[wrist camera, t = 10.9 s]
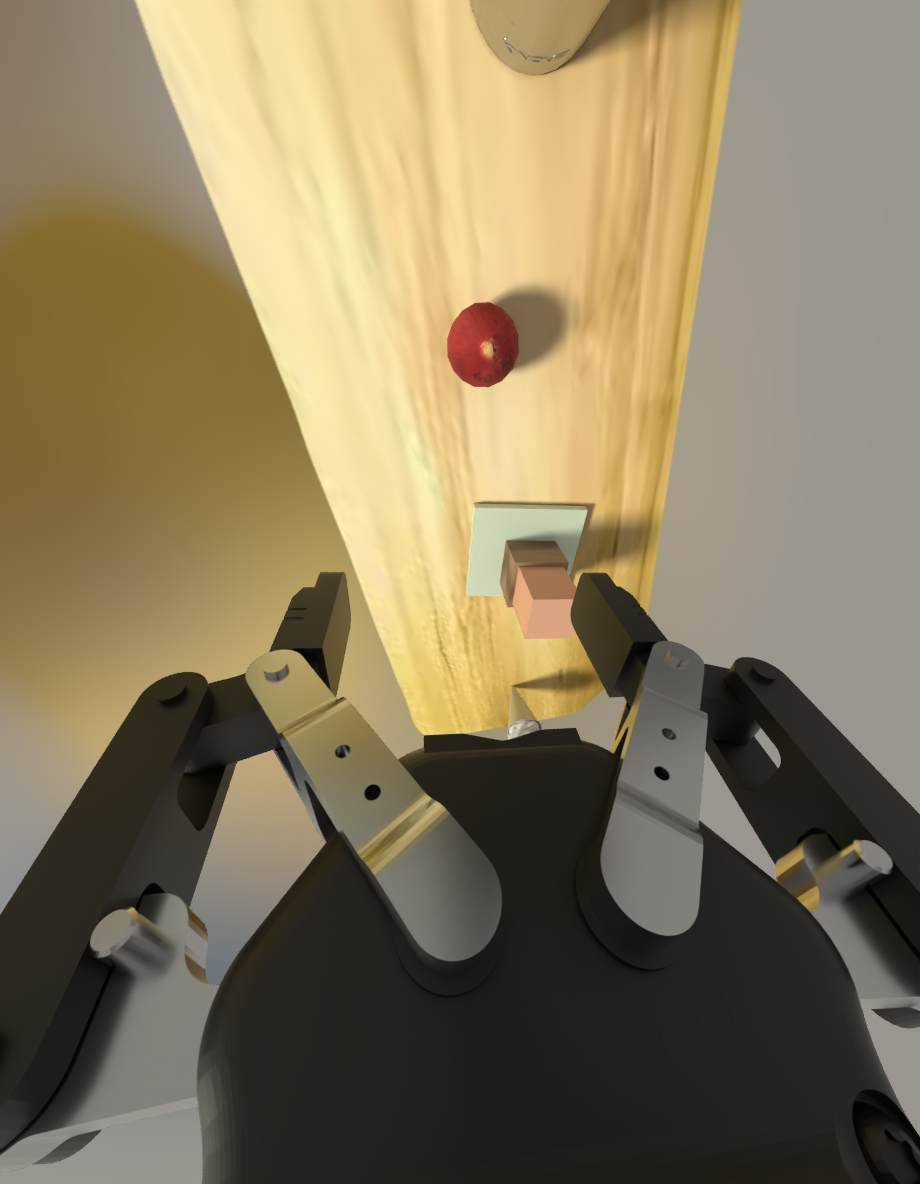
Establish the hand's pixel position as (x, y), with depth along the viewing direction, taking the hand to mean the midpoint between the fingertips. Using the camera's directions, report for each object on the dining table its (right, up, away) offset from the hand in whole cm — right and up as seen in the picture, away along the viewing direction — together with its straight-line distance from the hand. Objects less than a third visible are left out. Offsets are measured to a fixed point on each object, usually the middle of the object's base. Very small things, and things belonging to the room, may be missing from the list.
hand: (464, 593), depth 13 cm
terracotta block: (+8, +1, +30) cm, 31 cm away
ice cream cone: (+8, -15, +49) cm, 52 cm away
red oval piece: (+1, +22, +22) cm, 31 cm away
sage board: (+7, +5, +34) cm, 35 cm away
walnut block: (+8, +4, +34) cm, 35 cm away
